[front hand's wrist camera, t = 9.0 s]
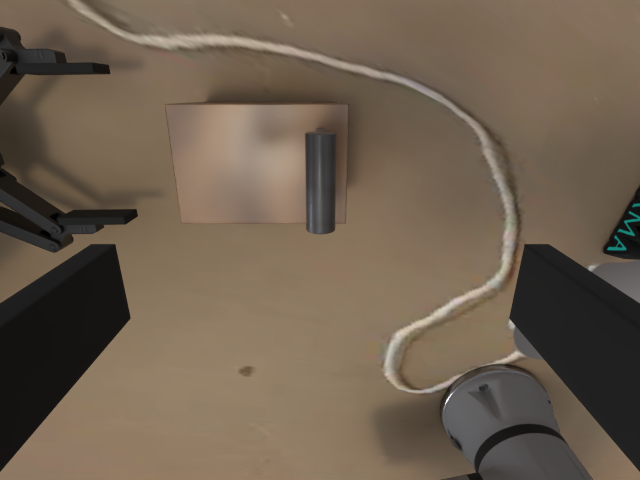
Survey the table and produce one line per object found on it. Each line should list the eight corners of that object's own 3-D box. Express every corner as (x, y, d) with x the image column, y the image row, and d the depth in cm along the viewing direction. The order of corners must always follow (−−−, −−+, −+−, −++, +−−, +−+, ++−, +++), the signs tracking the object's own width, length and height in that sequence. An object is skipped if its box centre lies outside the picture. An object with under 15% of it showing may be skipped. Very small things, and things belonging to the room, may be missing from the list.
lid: (347, 103, 32) (357, 106, 23) (344, 219, 35) (352, 256, 27) (170, 103, 31) (119, 106, 23) (185, 219, 35) (146, 256, 27)
